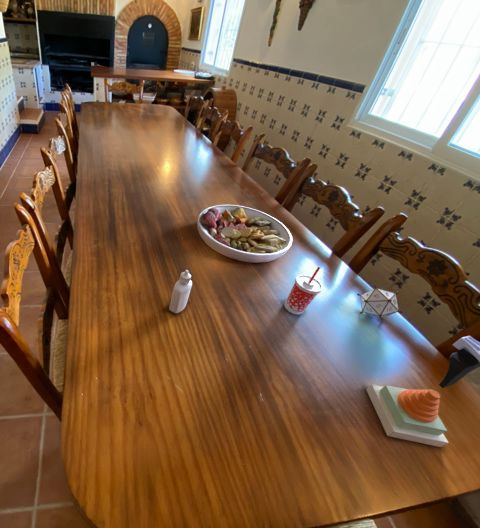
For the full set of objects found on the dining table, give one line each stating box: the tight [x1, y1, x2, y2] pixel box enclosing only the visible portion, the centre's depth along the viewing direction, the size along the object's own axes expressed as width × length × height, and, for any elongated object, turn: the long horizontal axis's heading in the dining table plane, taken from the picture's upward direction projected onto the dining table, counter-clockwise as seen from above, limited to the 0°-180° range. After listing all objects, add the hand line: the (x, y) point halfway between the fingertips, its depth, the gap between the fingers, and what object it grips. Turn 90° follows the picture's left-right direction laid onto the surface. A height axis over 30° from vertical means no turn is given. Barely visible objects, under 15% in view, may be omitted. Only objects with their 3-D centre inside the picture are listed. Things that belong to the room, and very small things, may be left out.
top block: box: [380, 385, 448, 435], centre depth 55 cm, size 7×7×2 cm
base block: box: [365, 384, 449, 448], centre depth 56 cm, size 9×9×2 cm
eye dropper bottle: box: [168, 269, 193, 314], centre depth 71 cm, size 4×6×12 cm
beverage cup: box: [283, 266, 324, 315], centre depth 73 cm, size 6×6×14 cm
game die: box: [356, 284, 404, 322], centre depth 75 cm, size 9×8×10 cm
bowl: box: [196, 204, 293, 264], centre depth 98 cm, size 30×30×8 cm
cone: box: [397, 388, 442, 423], centre depth 53 cm, size 6×6×5 cm
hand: (469, 407), depth 48 cm, fingers open, 7 cm apart
